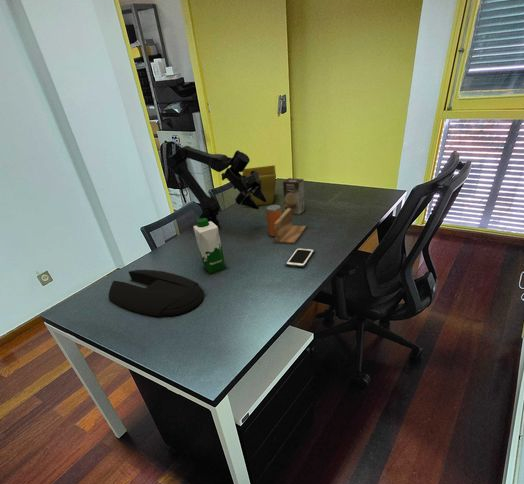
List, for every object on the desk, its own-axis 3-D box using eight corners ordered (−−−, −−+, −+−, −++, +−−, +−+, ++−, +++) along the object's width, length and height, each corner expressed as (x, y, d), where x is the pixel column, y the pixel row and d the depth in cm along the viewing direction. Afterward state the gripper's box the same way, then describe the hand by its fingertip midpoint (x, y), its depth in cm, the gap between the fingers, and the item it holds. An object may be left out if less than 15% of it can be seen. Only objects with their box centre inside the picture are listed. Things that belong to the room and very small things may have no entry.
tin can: (267, 236, 157) (264, 210, 149) (270, 231, 161) (267, 205, 153) (281, 236, 155) (279, 209, 147) (283, 230, 160) (281, 204, 152)
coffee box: (284, 213, 178) (282, 181, 167) (289, 208, 182) (288, 177, 171) (299, 214, 173) (298, 182, 163) (304, 210, 177) (303, 178, 167)
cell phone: (285, 266, 133) (285, 263, 132) (297, 249, 143) (297, 247, 142) (303, 268, 130) (303, 265, 129) (314, 251, 140) (314, 249, 139)
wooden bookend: (275, 242, 151) (274, 223, 145) (288, 226, 163) (287, 208, 157) (294, 243, 148) (293, 224, 142) (306, 227, 160) (305, 208, 154)
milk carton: (220, 260, 143) (210, 215, 130) (228, 268, 137) (219, 221, 124) (201, 267, 141) (189, 221, 128) (209, 275, 134) (197, 228, 121)
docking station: (174, 326, 110) (169, 315, 107) (99, 300, 129) (94, 289, 126) (219, 289, 125) (216, 277, 122) (146, 270, 144) (142, 260, 141)
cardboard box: (278, 205, 188) (275, 173, 177) (245, 209, 189) (240, 178, 179) (277, 194, 202) (275, 165, 192) (247, 198, 204) (242, 168, 193)
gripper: (237, 172, 136) (264, 199, 139) (255, 160, 149) (279, 185, 152) (224, 191, 144) (250, 217, 147) (242, 178, 157) (266, 202, 160)
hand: (262, 205), depth 152 cm, fingers open, 9 cm apart
